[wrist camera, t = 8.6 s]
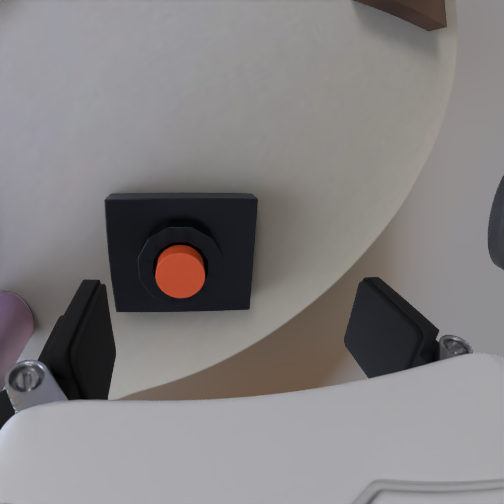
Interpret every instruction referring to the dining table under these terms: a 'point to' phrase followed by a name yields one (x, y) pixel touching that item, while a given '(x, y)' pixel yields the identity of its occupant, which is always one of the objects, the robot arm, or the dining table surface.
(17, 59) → the dining table surface
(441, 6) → the panel
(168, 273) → the button
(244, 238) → the button block
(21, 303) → the beverage can
